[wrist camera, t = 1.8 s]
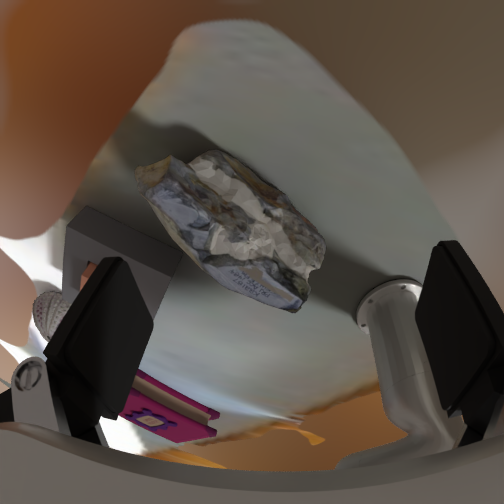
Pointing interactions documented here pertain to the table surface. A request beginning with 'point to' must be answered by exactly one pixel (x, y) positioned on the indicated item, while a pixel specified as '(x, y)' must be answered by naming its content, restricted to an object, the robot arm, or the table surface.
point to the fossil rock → (235, 226)
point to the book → (167, 411)
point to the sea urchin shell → (49, 313)
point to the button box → (112, 245)
